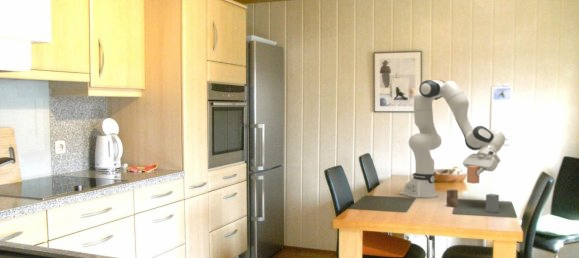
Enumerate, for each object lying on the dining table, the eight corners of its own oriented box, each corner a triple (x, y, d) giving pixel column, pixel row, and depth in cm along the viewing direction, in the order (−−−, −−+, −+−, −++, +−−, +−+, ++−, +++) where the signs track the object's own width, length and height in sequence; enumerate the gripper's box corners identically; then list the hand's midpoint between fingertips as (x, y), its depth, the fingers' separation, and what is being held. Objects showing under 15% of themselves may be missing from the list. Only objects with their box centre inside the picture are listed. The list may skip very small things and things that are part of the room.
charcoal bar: (485, 211, 269) (486, 194, 268) (490, 210, 272) (490, 193, 271) (493, 212, 265) (494, 195, 265) (498, 211, 268) (498, 194, 268)
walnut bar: (446, 206, 283) (446, 190, 282) (449, 204, 286) (449, 189, 286) (454, 207, 280) (454, 191, 279) (457, 205, 283) (457, 189, 283)
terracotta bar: (466, 182, 281) (467, 166, 281) (472, 181, 283) (473, 165, 283) (473, 183, 277) (473, 167, 277) (479, 182, 279) (479, 166, 279)
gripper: (468, 149, 292) (455, 167, 288) (497, 153, 273) (484, 172, 270) (473, 157, 294) (461, 175, 290) (503, 161, 276) (489, 180, 272)
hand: (472, 173), depth 280 cm, fingers closed on terracotta bar, 4 cm apart
